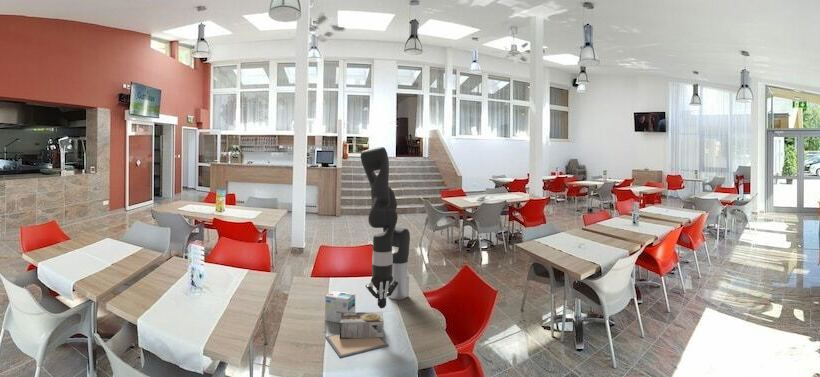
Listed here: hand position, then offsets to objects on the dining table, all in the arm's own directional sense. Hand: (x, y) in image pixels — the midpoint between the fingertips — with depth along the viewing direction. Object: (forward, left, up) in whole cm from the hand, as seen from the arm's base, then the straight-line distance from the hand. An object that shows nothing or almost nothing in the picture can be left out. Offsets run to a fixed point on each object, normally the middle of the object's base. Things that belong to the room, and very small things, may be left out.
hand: (381, 307), depth 146 cm
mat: (+10, 0, -11) cm, 15 cm away
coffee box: (-2, -1, -7) cm, 8 cm away
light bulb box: (+9, -20, -11) cm, 25 cm away
